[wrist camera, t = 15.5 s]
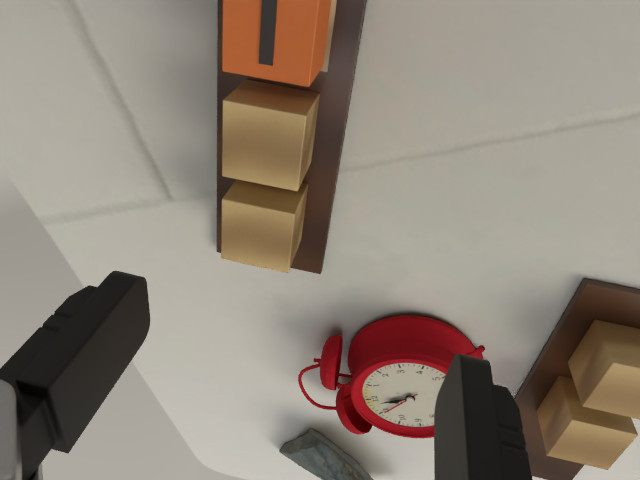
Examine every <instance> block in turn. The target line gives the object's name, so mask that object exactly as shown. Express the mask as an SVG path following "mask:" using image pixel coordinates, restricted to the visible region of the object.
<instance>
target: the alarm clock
mask: <svg viewBox="0 0 640 480" xmlns="http://www.w3.org/2000/svg"><path fill="white" fill-rule="evenodd" d="M342 342H343V341H342V335H333V336H331V337H329V338H328V339H327V341H326V342H325V345H324V347H323V351H322V355H321V359H316V358H314V362H318V363H319V364H316V365H312V366H309V367H306V368H305V369H303V370H302V371H301V372H300V374H299V377H298V381H299V385H300V388H301V390H302V392H303V394H304V395H305V397H306V398H307V399H308V400H309V401H310V402H311V403H312V404H313V405H315V406H317V407H319V408H323V409H329V410H337V413H338V416H339V419H340V420H341V422H342V424H343V425H344V426H345V427H346V429H348V430H349V431H350V432H352V433H355V434H364V433H367V432H369V431H370V429H371V428H372V425H373V426H375V427H377V428H379V429H381V430H383V431H385V432H388V433H391V434H394V435H398V436H403V437H410V438H431V437H434V412H435V404H436V399H437V395H438V392H439V390H440V387H441V385H442V383H443V381H444V379H445V376H446V374H447V372H448V370H449V367H450V365H451V363H452V361H453V358H454V356H455V355H456V354H457V353H459V354H463V355H467V356H471V357H475V358H480V359H483V356H482V352H483V351H484V350H485V348H484V346H482V345H480V346H479V347H478V349H476V350H475V348H474V346H473V345H472V343H471V342H470V341H469V340H468V338H467V337H466V336H464V335H463V334H462V333H461V332H460V331H458V330H457V329H455V328H454V327H452V326H450V325H448V324H446V323H444V322H441V321H438V320H435V319H431V318H427V317H423V316H412V315H404V316H393V317H388V318H384V319H381V320H378V321H376V322H374V323H372V324H370V325H368V326H366V327H365V328H363V329H362V330H361V331H360V332H359V333H358V334H357V335H356V336H355V338H354V339H353V341H352V343H351V345H350V348H349V353H348V367H349V370H350V373H351V375H348V374H341V373H339V371H340V364H341V355H342ZM479 351H480V352H479ZM317 367H320V377H321V381H322V384H323V386H324V387H325V388H327V389H330V390H336V387H338V389H339V391H338V393H337V396H336V407H331V406H323V405H320V404H317V403H316V402H314V401H313V400H312V399H311V398H310V397H309V396H308V394H307V393H306V391H305V389H304V387H303V385H302V381H301V377H302V375H303V373H304V372H306V371H308V370H310V369H313V368H317ZM339 376H342V377H348V378H352V380H351V382H348V383H346V384H340V383H339V382H338V377H339Z"/></svg>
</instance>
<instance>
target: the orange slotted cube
mask: <svg viewBox="0 0 640 480" xmlns="http://www.w3.org/2000/svg"><path fill="white" fill-rule="evenodd" d="M330 8H331V0H223V41H222V71H224V72H229V73H235V74H240V75H246V76H251V77H256V78H262V79H267V80H273V81H278V82H283V83H289V84H294V85H300V86H305V87H309V86H310V85H311V83H312V82H313V80H314V79H315V77H316V76H317V75H318V73H319V72H320V70H321V69H322V67H323V63H324V55H325V47H326V39H327V31H328V23H329V16H330Z"/></svg>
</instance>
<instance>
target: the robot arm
mask: <svg viewBox="0 0 640 480" xmlns="http://www.w3.org/2000/svg"><path fill="white" fill-rule="evenodd" d="M149 326H150V312H149V302H148V291H147V282H146V279H145V278H144V277H141V276H136V275H132V274H128V273H124V272H120V271H113V272H112V273H110V274H109V275H108V276H107V277H106V279H105V280H104V281H103V282H102V283H101V284H100V285H99V286H98V287H94V286H90V285H89V286H87V287H85V288H84V289H82V290H80V291H78V292H77V293H75V294H73V295H71V296H69V297H68V298H67V299H66V300H65V302H64V303H63V304H62V305H61V306H60V307H59V308H58V309H57V310H56V311H55V314H54V315H51V316H50V317H49V318H48V319H47V320H46V321H45V322H44V324H43V326H42V328H41V327H40V328H39V329H38V330H37V331H36V332H35V333H34V334H33V335H32V336H31V337H30V338H29V339H28V340H27V341H26V342H25V344H24V345H23V346H22V347H21V348H20V349H19V350H18V351H17V352H16V353H15V354H14V355H13V356H12V357H11V358H10V359H9V360H8V361H7V362H6V363H5V364H4V366H2V368H1V369H0V480H43V474H42V464H41V462H42V461H43V460H44V458H45V457H46V455H47V454H48V453H49V451H50V450H51V449H54V450H58V451H61V452H65V453H69V452H70V450H71V449H72V447H73V446H74V444H75V443H76V441H77V440H78V438H79V437H80V435H81V434H82V432H83V431H84V429H85V428H86V426H87V425H88V424H89V422H90V420H91V419H92V417H93V416H94V415H95V413H96V412H97V410H98V409H99V407H100V406H101V404H102V403H103V401H104V400H105V398H106V397H107V395H108V394H109V392H110V391H111V389H112V388H113V387H114V385H115V383H116V382H117V380H118V379H119V378H120V376H121V375H122V373H123V372H124V370H125V369H126V367H127V366H128V364H129V363H130V361H131V360H132V358H133V357H134V355H135V354H136V353H137V351H138V350H139V348H140V347H141V345H142V344H143V342H144V340H145V338H146V336H147V333H148V330H149ZM434 451H435V480H532V476H531V470H530V465H529V459H528V453H527V451H526V442H525V437H524V433H523V426H522V420H521V415H520V409H519V407H518V405H517V404H516V402H515V400H514V399H513V397H512V395H511V393H510V392H509V390H508V388H506V387H502V386H498V385H494V384H493V381H492V373H491V366H490V363H489V361H488V360H484V359H480V358H475V357H471V356H467V355H463V354H459V353H457V354H456V355H455V356H454V358H453V361H452V363H451V365H450V367H449V370H448V372H447V374H446V376H445V379H444V381H443V383H442V385H441V387H440V390H439V392H438V395H437V399H436V404H435V412H434Z"/></svg>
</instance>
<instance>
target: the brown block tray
mask: <svg viewBox="0 0 640 480" xmlns="http://www.w3.org/2000/svg"><path fill="white" fill-rule="evenodd" d="M366 2H367V0H331V8H330V16H329V23H328V31H327V39H326V47H325V55H324V63H323V67H322V69H321V70H320V72H319V73H318V75H317V76H316V77H315V79H314V80H313V82H312V83H311V85H310V86H309V87H305V86H300V85H294V84H289V83H283V82H278V81H273V80H267V79H262V78H256V77H251V76H246V75H240V74H235V73H229V72H224V71H222V41H223V0H218V76H217V252H220V253H221V258H222V259H226V260H230V261H235V262H240V263H244V264H249V265H254V266H258V267H263V268H268V269H272V270H277V271H281V272H286V273H288V272H289V270H290V268H295V269H299V270H304V271H309V272H313V273H318V274H321V271H322V267H323V261H324V255H325V249H326V243H327V237H328V231H329V225H330V218H331V212H332V206H333V200H334V194H335V188H336V182H337V176H338V170H339V164H340V158H341V152H342V146H343V140H344V134H345V128H346V122H347V116H348V110H349V104H350V98H351V92H352V86H353V80H354V74H355V68H356V62H357V56H358V50H359V44H360V38H361V32H362V26H363V20H364V14H365V8H366Z"/></svg>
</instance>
